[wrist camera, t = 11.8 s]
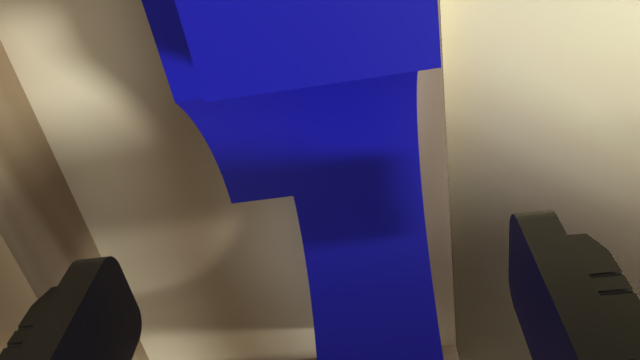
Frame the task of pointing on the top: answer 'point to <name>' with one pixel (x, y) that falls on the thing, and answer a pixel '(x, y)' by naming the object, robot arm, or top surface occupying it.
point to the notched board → (160, 193)
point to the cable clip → (322, 146)
